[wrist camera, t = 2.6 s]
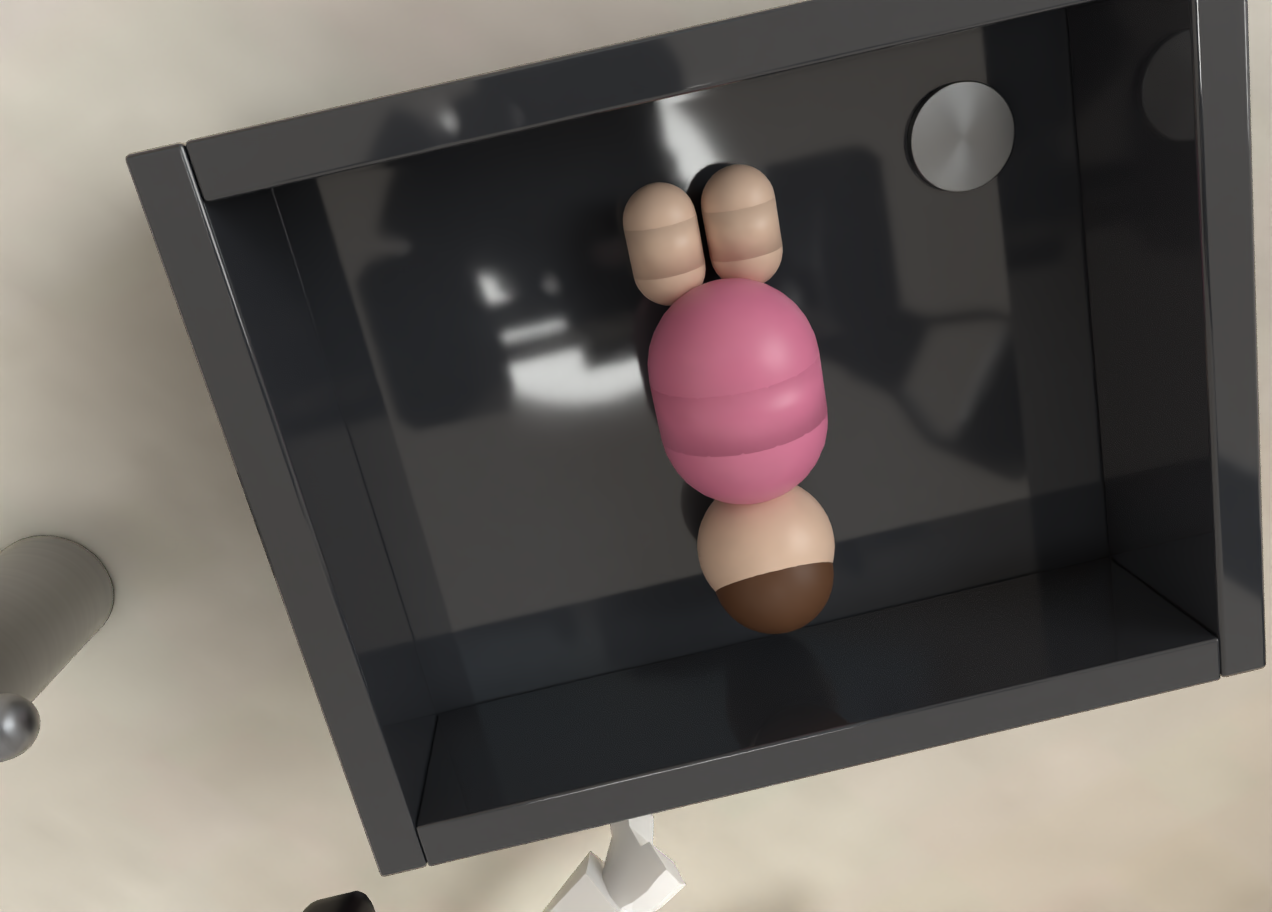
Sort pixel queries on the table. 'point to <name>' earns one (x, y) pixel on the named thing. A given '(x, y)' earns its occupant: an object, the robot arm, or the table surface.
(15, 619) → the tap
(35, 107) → the table surface
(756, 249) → the doll
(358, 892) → the robot arm
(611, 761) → the sink
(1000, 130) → the drain
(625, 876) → the male figurine
